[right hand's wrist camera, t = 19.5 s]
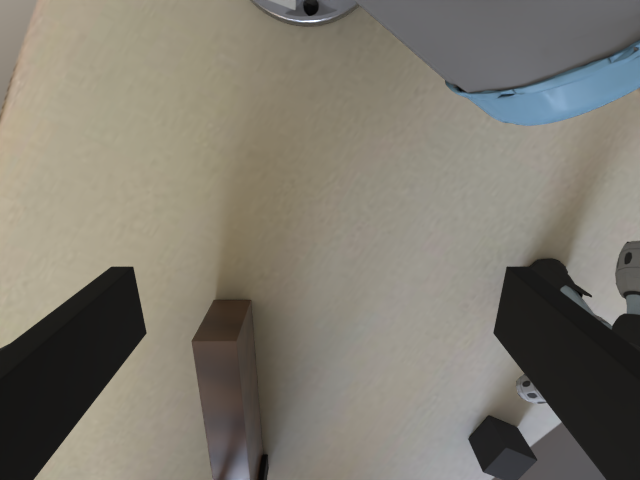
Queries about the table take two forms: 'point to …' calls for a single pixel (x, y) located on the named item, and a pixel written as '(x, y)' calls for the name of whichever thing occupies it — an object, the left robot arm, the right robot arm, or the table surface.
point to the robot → (632, 282)
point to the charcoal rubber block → (501, 449)
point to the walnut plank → (229, 390)
